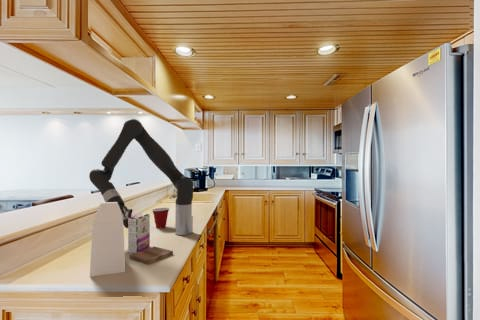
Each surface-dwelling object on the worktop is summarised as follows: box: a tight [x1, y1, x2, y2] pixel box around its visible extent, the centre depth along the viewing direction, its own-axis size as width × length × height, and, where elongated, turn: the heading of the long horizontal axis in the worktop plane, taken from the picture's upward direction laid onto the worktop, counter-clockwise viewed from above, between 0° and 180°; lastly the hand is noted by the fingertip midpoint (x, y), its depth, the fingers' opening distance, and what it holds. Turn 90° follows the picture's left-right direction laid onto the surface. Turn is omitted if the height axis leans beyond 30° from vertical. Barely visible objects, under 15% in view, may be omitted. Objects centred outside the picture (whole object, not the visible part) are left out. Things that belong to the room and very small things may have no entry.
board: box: [128, 246, 174, 265], centre depth 122 cm, size 14×12×2 cm
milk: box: [89, 202, 126, 278], centre depth 108 cm, size 12×12×26 cm
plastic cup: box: [151, 207, 170, 229], centre depth 174 cm, size 11×11×12 cm
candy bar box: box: [127, 212, 151, 254], centre depth 130 cm, size 11×5×16 cm, turn 168°
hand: (128, 226), depth 134 cm, fingers closed
